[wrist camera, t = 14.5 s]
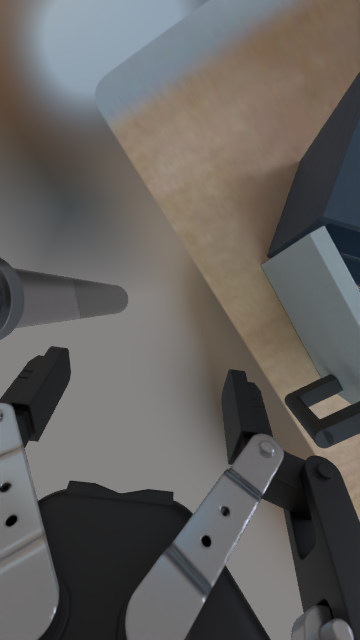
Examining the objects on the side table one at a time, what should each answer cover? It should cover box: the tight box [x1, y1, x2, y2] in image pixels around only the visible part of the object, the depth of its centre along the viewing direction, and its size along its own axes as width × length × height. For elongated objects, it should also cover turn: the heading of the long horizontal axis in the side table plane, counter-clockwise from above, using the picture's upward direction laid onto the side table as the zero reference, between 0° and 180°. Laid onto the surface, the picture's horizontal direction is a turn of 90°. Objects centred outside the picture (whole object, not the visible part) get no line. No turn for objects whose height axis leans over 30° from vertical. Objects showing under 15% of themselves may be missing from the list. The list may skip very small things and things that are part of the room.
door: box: [261, 226, 360, 448], centre depth 25 cm, size 6×16×15 cm, turn 29°
